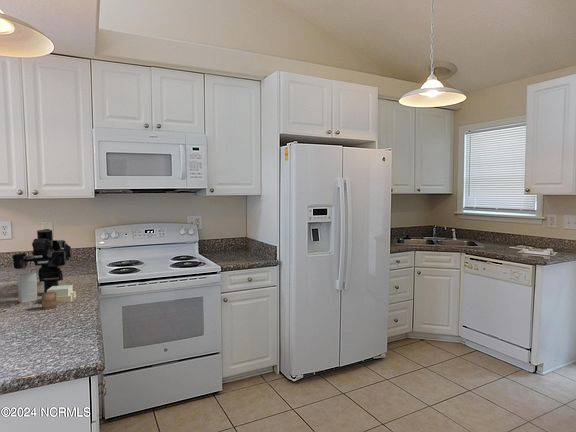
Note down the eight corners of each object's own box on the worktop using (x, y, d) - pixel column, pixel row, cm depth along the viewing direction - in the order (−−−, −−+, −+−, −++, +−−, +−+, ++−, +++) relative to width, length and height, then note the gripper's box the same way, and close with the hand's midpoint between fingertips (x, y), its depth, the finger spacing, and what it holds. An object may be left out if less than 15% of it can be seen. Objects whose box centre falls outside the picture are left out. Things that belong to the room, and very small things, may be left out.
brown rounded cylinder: (44, 306, 156) (43, 292, 156) (58, 305, 158) (57, 291, 157) (40, 310, 151) (39, 295, 151) (54, 309, 153) (54, 294, 153)
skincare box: (34, 298, 169) (33, 272, 168) (37, 300, 166) (36, 273, 166) (17, 301, 164) (17, 274, 164) (21, 303, 161) (20, 275, 161)
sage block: (52, 292, 170) (52, 286, 170) (72, 291, 172) (72, 285, 172) (46, 297, 162) (46, 290, 162) (68, 295, 164) (68, 288, 164)
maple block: (50, 299, 170) (50, 292, 170) (76, 297, 174) (75, 290, 173) (44, 304, 161) (44, 297, 161) (70, 303, 164) (70, 296, 164)
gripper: (17, 238, 163) (4, 248, 149) (66, 235, 170) (58, 245, 155) (20, 262, 166) (7, 275, 151) (69, 259, 172) (61, 271, 157)
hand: (34, 265), depth 154 cm, fingers open, 9 cm apart
